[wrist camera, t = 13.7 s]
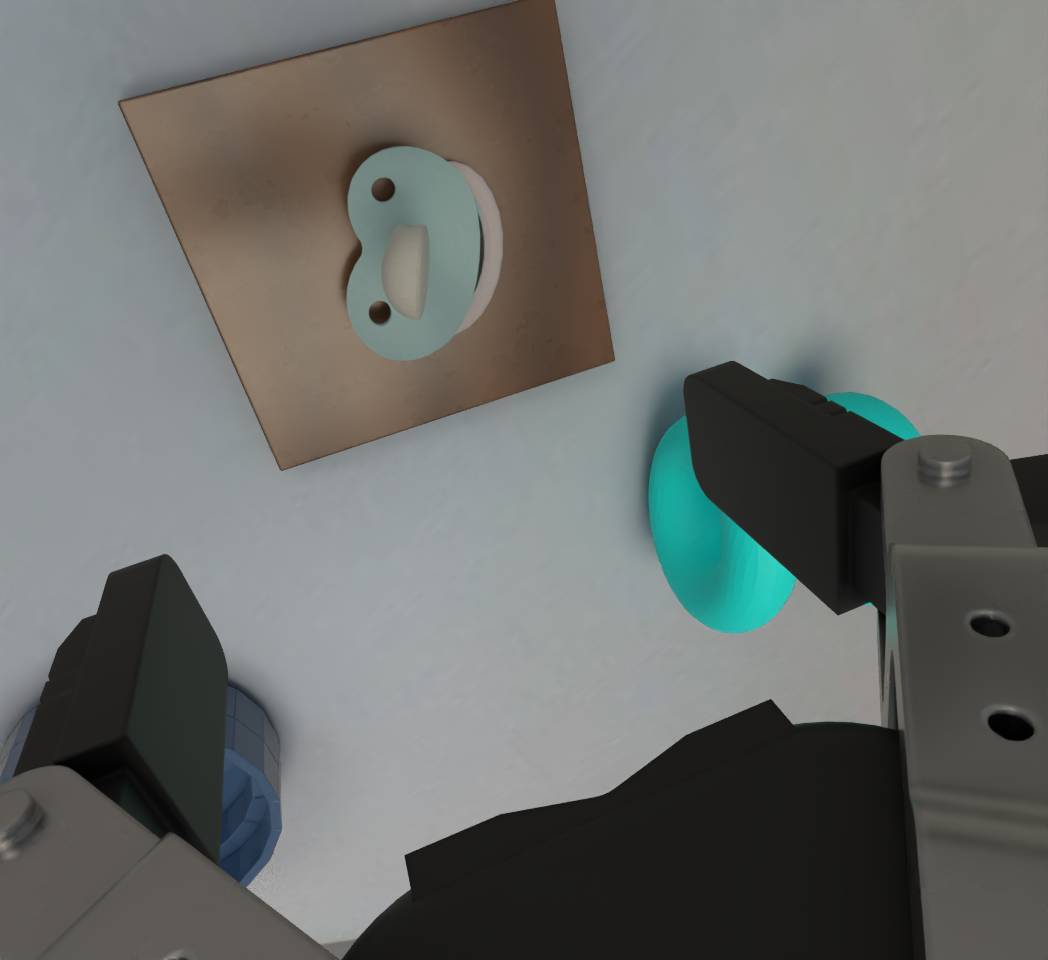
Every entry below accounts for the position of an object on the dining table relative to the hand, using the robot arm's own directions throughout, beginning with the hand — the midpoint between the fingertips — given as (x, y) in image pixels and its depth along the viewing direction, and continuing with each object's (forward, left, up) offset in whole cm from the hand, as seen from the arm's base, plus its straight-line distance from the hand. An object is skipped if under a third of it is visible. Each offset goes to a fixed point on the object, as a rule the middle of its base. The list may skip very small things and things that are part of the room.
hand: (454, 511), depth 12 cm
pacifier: (+3, 0, -20) cm, 20 cm away
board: (+2, 0, -21) cm, 21 cm away
